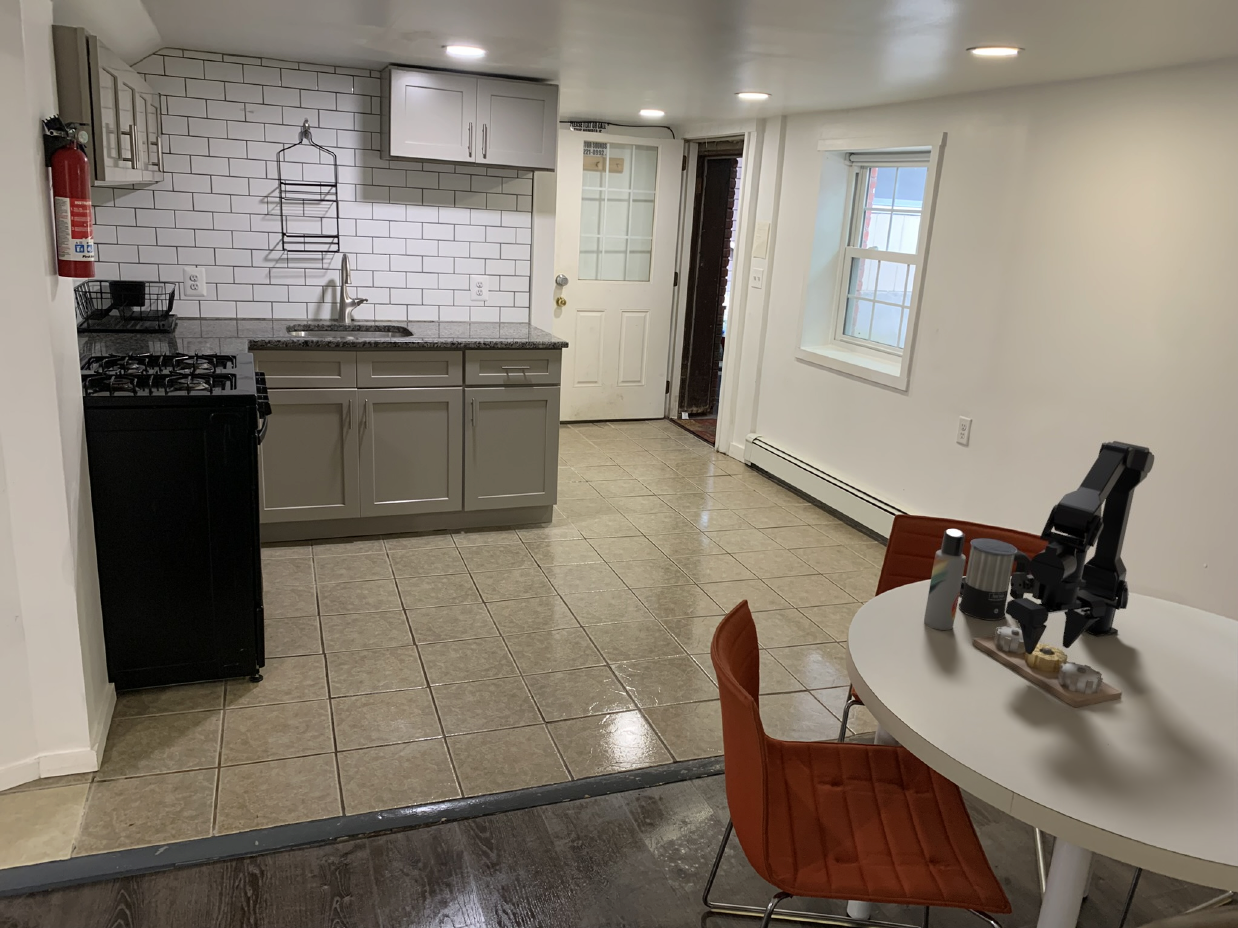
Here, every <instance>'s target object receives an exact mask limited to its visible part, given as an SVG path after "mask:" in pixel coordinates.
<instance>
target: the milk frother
mask: <svg viewBox="0 0 1238 928" xmlns="http://www.w3.org/2000/svg"><path fill="white" fill-rule="evenodd" d="M970 545H971V546H970V551H969V558H968V563H967V568H966V575H965V576H963V577H962V583H961V588H960V593H959V596H961V601H960V602H959V603H958V608H959V610H960V611H962V612H963V613H964V614H966V615H968V616H971V617H972V618H975V619H976V618H977V619H980V620H986V621H998V620H1002V619H1004V618H1005V617H1006V607H1007V601H1008V593H1009V596H1010V597H1011V598H1012V600H1013V599H1020V598H1024V595H1025V593H1022V594H1017V590H1013V589H1012V588H1011V587H1010V580H1011V577H1012V571H1013V565H1014V562H1016V563H1015V564H1016V565H1015V569H1014V572H1013V573H1017V572H1020V573H1026V574H1027V575H1031V572H1030V561H1031V560H1032V559H1030V557H1029V556H1028V555H1027V554H1026V553H1024V552H1022V551H1021V550H1018V549H1017V547H1015V546H1014V545H1013V544H1010V543H1008V542H1005V541H1002V540H998V539H993V538H985V537H984V538H982V537H981V538H974V539H972V540H971V541H970ZM1009 587H1010V589H1009Z"/></svg>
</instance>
